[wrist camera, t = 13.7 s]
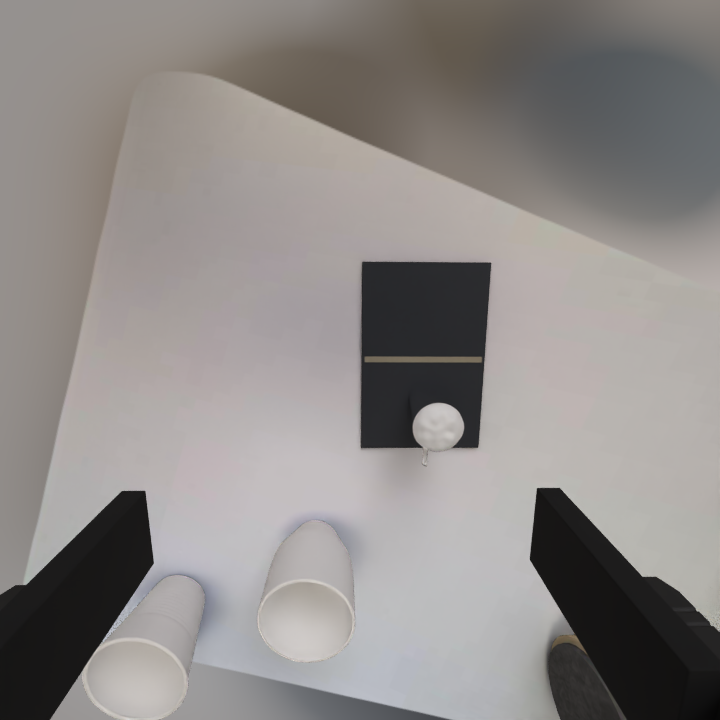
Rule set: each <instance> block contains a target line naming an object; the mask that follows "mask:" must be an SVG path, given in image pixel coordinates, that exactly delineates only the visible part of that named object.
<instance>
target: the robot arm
mask: <svg viewBox="0 0 720 720" xmlns="http://www.w3.org/2000/svg"><path fill="white" fill-rule="evenodd" d="M530 561H531V562H532V564H533V566H534V567H535V569H536V570H537V572H538V574H539V575H540V577H541V579H542V580H543V582H544V584H545V585H546V587H547V589H548V590H549V592H550V594H551V595H552V597H553V599H554V600H555V602H556V604H557V605H558V607H559V608H560V610H561V612H562V613H563V615H564V617H565V618H566V620H567V622H568V623H569V625H570V627H571V628H572V630H573V632H574V633H575V635H576V637H577V638H578V640H579V641H580V643H581V645H582V646H583V648H584V650H585V651H586V653H587V655H588V656H589V658H590V660H591V661H592V663H593V665H594V666H595V668H596V670H597V671H598V673H599V674H600V676H601V678H602V679H603V681H604V683H605V684H606V686H607V688H608V689H609V691H610V693H611V694H612V696H613V698H614V699H615V701H616V703H617V704H618V706H619V708H620V709H621V711H622V712H623V714H624V716H625V717H626V719H627V720H720V632H719V631H718V630H717V629H716V628H715V627H714V626H711V625H710V622H709V621H708V620H707V619H706V618H705V617H704V616H703V615H702V614H701V613H700V612H697V611H696V609H695V607H694V606H693V605H692V604H691V603H690V602H689V601H688V600H687V599H686V598H685V597H684V596H683V595H682V594H681V593H680V592H679V591H677V590H676V589H674V588H673V587H671V586H670V585H668V584H666V583H665V582H663V581H662V580H660V579H659V578H657V577H642V576H641V575H640V574H639V573H638V571H637V570H636V569H635V568H634V567H633V566H632V565H631V564H630V563H629V562H628V561H627V560H626V559H625V558H624V556H623V555H622V554H621V553H620V552H619V551H618V550H617V549H616V548H615V547H614V546H613V545H612V544H611V543H610V541H609V540H608V539H607V538H606V537H605V536H604V535H603V534H602V533H601V532H600V531H599V530H598V529H597V528H596V526H595V525H594V524H593V523H592V522H591V521H590V520H589V519H588V518H587V517H586V516H585V515H584V514H583V513H582V511H581V510H580V509H579V508H578V507H577V506H576V505H575V504H574V503H573V502H572V501H571V500H570V499H569V498H568V496H567V495H566V494H565V493H564V492H563V491H562V490H561V489H560V488H537V494H536V504H535V513H534V523H533V533H532V543H531V553H530ZM153 564H154V561H153V552H152V544H151V535H150V527H149V518H148V510H147V501H146V493H145V491H122V492H121V493H120V494H118V495H117V496H116V497H115V498H114V499H113V500H112V501H111V502H110V503H109V504H108V505H107V506H106V507H105V508H104V509H103V510H102V511H101V512H100V513H99V514H98V515H97V516H96V517H95V518H94V519H93V520H92V521H91V522H90V523H89V524H88V525H87V526H86V527H85V528H84V529H83V530H82V531H81V532H80V533H79V534H78V535H77V536H76V537H75V538H74V539H73V540H72V541H71V542H70V543H69V544H68V545H67V546H66V547H65V548H63V549H62V550H61V551H60V552H59V553H58V554H57V555H56V556H55V557H54V558H53V559H52V560H51V561H50V562H49V563H48V564H47V565H46V566H45V567H44V568H43V569H42V570H41V571H40V572H39V573H38V574H37V575H36V576H35V577H34V578H33V579H32V580H31V581H30V582H29V583H28V584H27V585H15V586H14V587H12V588H11V589H9V590H7V591H6V592H4V593H3V594H1V595H0V720H50V719H51V717H52V716H53V714H54V713H55V711H56V709H57V708H58V707H59V705H60V704H61V702H62V701H63V699H64V698H65V696H66V695H67V693H68V692H69V690H70V689H71V687H72V685H73V684H74V682H75V681H76V679H77V678H78V676H79V675H80V673H81V672H82V670H83V669H84V667H85V666H86V664H87V663H88V661H89V660H90V658H91V657H92V655H93V654H94V652H95V651H96V649H97V648H98V646H99V645H100V643H101V642H102V640H103V639H104V637H105V636H106V634H107V633H108V631H109V630H110V628H111V627H112V625H113V624H114V622H115V621H116V619H117V618H118V616H119V615H120V613H121V612H122V610H123V609H124V607H125V606H126V604H127V603H128V601H129V600H130V598H131V597H132V595H133V594H134V592H135V591H136V589H137V588H138V586H139V585H140V583H141V582H142V580H143V579H144V577H145V576H146V574H147V573H148V571H149V570H150V568H151V567H152V565H153Z"/></svg>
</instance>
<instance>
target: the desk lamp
mask: <svg viewBox="0 0 720 720" xmlns="http://www.w3.org/2000/svg"><path fill="white" fill-rule="evenodd" d="M549 678H550V685H551V689H552V694H553V698H554V701H555V705H556V708H557V711H558V714H559V717H560V719H561V720H627V719H626V717H625V716H624V714H623V712H622V711H621V709H620V708H619V706H618V704H617V703H616V701H615V699H614V698H613V696H612V694H611V693H610V691H609V689H608V688H607V686H606V684H605V683H604V681H603V679H602V678H601V676H600V674H599V673H598V671H597V670H596V668H595V666H594V665H593V663H592V661H591V660H590V658H589V656H588V655H587V653H586V651H585V650H584V648H583V646H582V645H581V643H580V641H579V640H578V638H577V637H576V635H562V636H559V637H558V638H556V639H555V641H554V643H553V645H552V649H551V653H550V657H549Z"/></svg>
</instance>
